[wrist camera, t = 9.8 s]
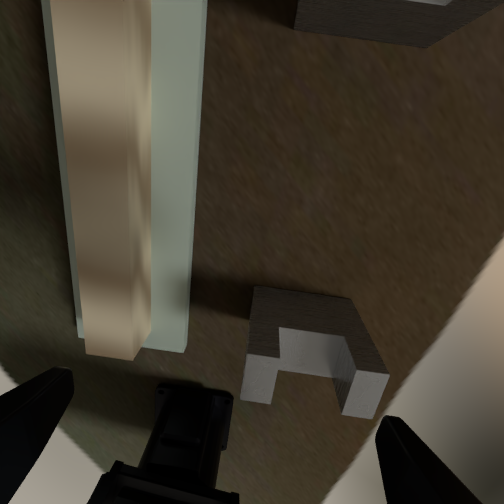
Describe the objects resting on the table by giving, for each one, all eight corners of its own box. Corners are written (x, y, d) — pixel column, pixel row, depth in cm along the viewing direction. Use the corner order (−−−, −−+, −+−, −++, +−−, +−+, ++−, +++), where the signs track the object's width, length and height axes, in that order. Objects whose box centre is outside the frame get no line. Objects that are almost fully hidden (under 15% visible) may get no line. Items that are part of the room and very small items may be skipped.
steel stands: (341, 334, 21) (372, 419, 15) (249, 320, 21) (239, 399, 15) (448, -27, 14) (611, -179, 7) (305, -47, 14) (336, -214, 7)
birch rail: (150, 331, 21) (132, 360, 18) (110, 325, 21) (86, 353, 18) (151, -130, 12) (116, -209, 9) (82, -139, 12) (27, -221, 10)
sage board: (186, 344, 23) (183, 352, 22) (86, 329, 23) (78, 337, 22) (216, -149, 13) (212, -172, 12) (37, -173, 13) (19, -198, 12)
